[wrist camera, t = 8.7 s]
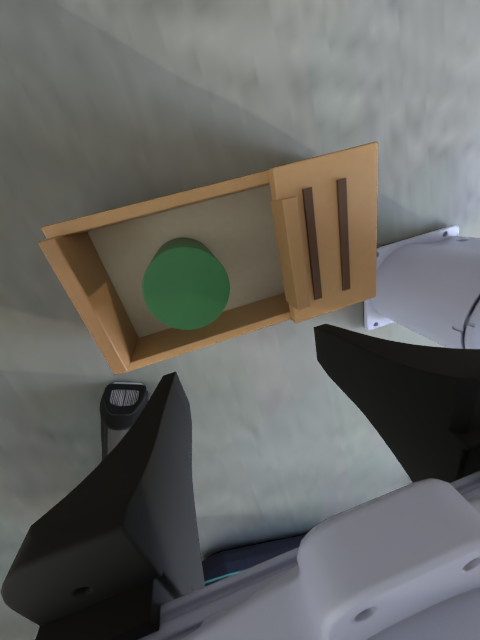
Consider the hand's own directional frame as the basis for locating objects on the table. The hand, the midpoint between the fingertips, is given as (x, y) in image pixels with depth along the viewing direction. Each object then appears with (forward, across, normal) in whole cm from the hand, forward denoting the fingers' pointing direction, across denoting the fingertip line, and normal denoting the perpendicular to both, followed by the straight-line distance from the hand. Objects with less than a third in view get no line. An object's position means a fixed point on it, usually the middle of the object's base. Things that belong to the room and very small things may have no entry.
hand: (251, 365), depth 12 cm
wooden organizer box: (+9, -1, -4) cm, 10 cm away
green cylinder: (+8, +2, -4) cm, 9 cm away
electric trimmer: (+10, +13, +11) cm, 19 cm away
